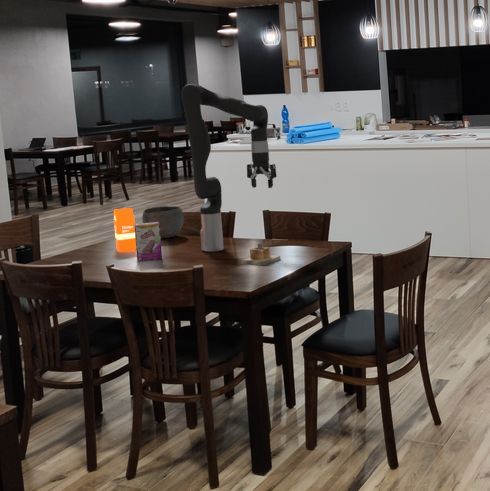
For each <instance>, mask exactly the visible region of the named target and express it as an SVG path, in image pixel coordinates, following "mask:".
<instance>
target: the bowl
mask: <svg viewBox="0 0 490 491" xmlns="http://www.w3.org/2000/svg"><path fill="white" fill-rule="evenodd" d="M141 217H142V218H141V219H142V223H153V222H159V224H160V237H161V240H163V239H162V238H167V239H170V237H171V238H173V237H175V236H177V235H178V234H179V233H180V231H181V230H182V227H183V226H184V223H185V216H184V213H183V210H182V208H181V207H180V206H176V205H174V206H173V205H171V206H166V205H165V206H154V207H150V208H149V207H148V208H146V209H144V210H143V212H142V216H141Z"/></svg>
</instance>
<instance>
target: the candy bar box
mask: <svg viewBox="0 0 490 491" xmlns="http://www.w3.org/2000/svg"><path fill="white" fill-rule="evenodd" d="M134 228H135V240H136V260H137V262H148V261H149V262H151V261H158V260H159V261H160V260H163V252H162V239H161V237H160V224H159V222H153V223H143V222H142V223H135V224H134Z"/></svg>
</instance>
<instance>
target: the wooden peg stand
mask: <svg viewBox="0 0 490 491" xmlns="http://www.w3.org/2000/svg"><path fill="white" fill-rule="evenodd" d="M257 247H258V249H259V250H261V249H262V247H263V244H262V243H261V242H258V243H257ZM280 260H281V256H280V255H277V254H275V255H273V254H270V257H268V258H266V259H263V260H259V259H250V256H248V257H244V258H242V259H240V264H244V265H245V264H246V265H258V266H266V265H269V264H271V263H275V262H276V261H280Z"/></svg>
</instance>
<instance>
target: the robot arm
mask: <svg viewBox="0 0 490 491" xmlns="http://www.w3.org/2000/svg"><path fill="white" fill-rule="evenodd" d="M180 94H181V96H180V97H181V101H182V105H183V110H184V114H185V118H186V125H187V132H188V139H189V147H190V152H191V159H192V168H193V182H194V184H193V186H194V191H195V195H196V196H197V198H198V199H200V200H206V199H207V200H206V202H205V203H204V204H203V205H202V206H200V211H199V213H200V222H201V229H200V230H199V232H200V233H199V235H200V243H201V244H200V246H201V251H204V252H218V251H223V250H224V236H223V224H222V211H221V208H222V206H223V201H222V185H221V182H220V179H219V178H217V177H215V176H211V177H210V176H209V177H207V170H206V168H207V162H208V160H209V157H210V154H211V150H212V145H211V137H210V133H209V130H208V128H207V125H206V123H205V121H204V118H203V116H202V111H201V110H202V109H201V106H207V107H212V108H215V109H217V110H220V111H222V112H224V113H227V114H229V115H233V116H237V117H240V118H243V120H247V121H249V122H252V123H253V127H252V128H251V130H250V139H251V141H250V142H251V144H250V145H251V147H250V148H251V161H252V163H249V164H247V165H246V177H247V178H248V179H250V180H251V181H250V182H251V186H252V188H256V187H257V179H256V178H257V176H258V175H264V176H266V178H267V189H272V188H273V186H274V181H273V180H274V179H275V178H277V169H276V164H275V163H273V164H270V152H269V143H268V133H267V132H268V130H267V129H268V122H269V113H268V109H267V107H266V106H264V105H261V104H258V105H253V104H250V103H247V102H246V101H245V100H242V99H237V98H234V97H231V96H227V95H222V94H219V93H216V92H214V91H211V90H210V89H208V88H205V87H203V86H202V85H200V84H192V83H191V84H185V85H184V87H183V88H182V89H181V93H180Z"/></svg>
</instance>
